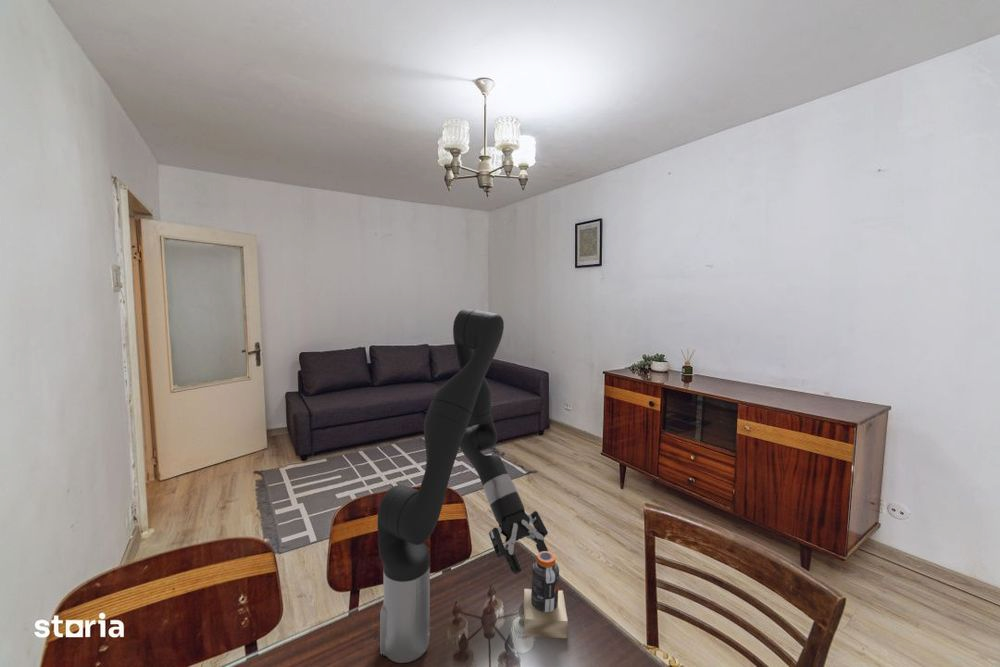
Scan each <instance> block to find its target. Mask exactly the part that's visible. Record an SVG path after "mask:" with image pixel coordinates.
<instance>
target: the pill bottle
mask: <svg viewBox="0 0 1000 667" xmlns="http://www.w3.org/2000/svg"><path fill="white" fill-rule="evenodd" d="M548 551H549V550H548ZM548 551H542V552H540V553H539V552H538V553H537V557H536V560H535V561H534V562H533V565H532V570H531V571H532V572H531V573H532V574H531V575H532V576H531V589H532V592H531V602H532V605H533V607H534V608H535V609H537V610H538V611H541V612H551V611H553V610H555V609H556V608H557V605H558V590H559V583H560V581H559V580H560V568H559V565H558V564H557V562H556V555H555V554H554V553H552V552H551V551H549V552H548Z"/></svg>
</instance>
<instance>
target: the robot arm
mask: <svg viewBox="0 0 1000 667" xmlns="http://www.w3.org/2000/svg"><path fill="white" fill-rule="evenodd" d="M504 324H505V323H504V319H503V317H502V316H501V314H498V313H494V312H490V311H486V310H485V311H484V310H477V309H472V308H471V309H470V308H462V309H461V310H459V311H458V312H457V315H456V316H455V318H454V320H453V325H452V326H453V328H452V337H453V343H454V349H455V353H456V360H457V363H458V368H459V371H458V372H456V373H455V374H454V375H453V376H452V377H451V378H450V379H448V380H447V381H446V382H445V383H443V384H442V385H441V386H440V387H439V388H438V389H437V391H436V392H435V394H434V395H433V398H432V399H431V403H430V405H429V408H428V410H427V412H426V414H425V418H424V422H423V438H424V446H425V456H426V461H425V462H426V465H425V470H424V475H423V476H422V477H423V479H422V481H421V483H420V487H419V489H415V488H413V487H410V486H407V485H403V484H398V485H397V484H396V485H394V486H392V487H391V488H390V489H388V490H387V491H386V492H385V494H384V495H383V497H382V499H381V501H380V503H379V507H378V509H377V510H378V512H377V523H376V524H377V541H378V542H377V543H378V553H379V555H378V556H379V558H380V560H381V562H382V567H383V570H382V571H383V572H382V573H383V575H382V576H383V580H382V581H383V603H382V606H381V608H380V611H379V614H380V615H379V616H380V618H379V620H380V621H379V622H380V624H379V625H380V626H379V628H380V630H379V632H380V633H379V635H380V636H379V640H380V641H379V642H380V647H379V648H380V649H379V652H380V654H381V655H380V656H386V657H387V658H388V659H389V660H390V661H392V662H393V663H394V662H395V663H398V664H405V663H410V662H413V661H416V660H417V659H419V658H420V657H422V656H423V655H424V654H425V653H426V652H427V650H428V647H429V645H430V613H431V612H430V610H431V609H430V607H431V606H430V599H431V598H430V597H431V596H430V595H431V594H430V591H431V590H430V586H431V584H430V582H431V580H430V579H431V578H430V577H431V576H430V575H431V554H430V548H428V546H427V545H426V544H425V543H426V542H427V541H428V539H429V538H430V537H431V535H432V534H433V533H434V531H435V529H436V526H437V524H438V521H439V518H440V515H441V513H442V508H443V505H444V502H445V497H446V493H447V490H448V485H449V481H450V478H451V474H452V471H453V467H454V465H455V461H456V459H457V456H458V453H459V449H460V450H461V453H462V454H463V455H464V456H465V457H466V459H467V460H468V461H469V463H471V465H472V466H473V468H474V470H475V472H476V473H477V475H478V477H479V479H480V482H481V484H482V487H483V490H484V494H485V497H486V499H487V502H488V504H489V506H490V509H491V512H492V513H493V514H492V515H493V516H494V519H495V521H496V523H497V524H498V527H493V528H492V529H491V530H489V531H488V535H489V538H490V540H491V544H492V546H493V549H494V552H495V556H496V557H497V559H498V558H499V559H500V558H505V559H506V562H507V563H508V566H509V569H510V571H511V572H512V573H513V574H514V575H517V574H519V573H521V572H522V568H521V566H520V563H519V561H518V558H517V556H516V554H515V553H514V549H515V545H516V542H517V541H519V540H522V539H525V538H527V539H528V540H529V539H530V540H532V541H533V542H534V543H535V547H536V549H537V551H538V553H540V552H542V551H548V552H550V551H549V549H548V547H547V545H546V543H545V540H544V539H545V537H546V536H548V534H549V531H548V530H547V528H546V526H545V524H544V522H543V520H542V518H541V516H540V515H539V513H538V511H536V510H534V511H533V512H532V513H530V514H527V513H526V511H525V505H524V504H523V501H522V499H521V496H520V494H519V492H518V491H517V488H516V486H515V484H514V482H513V480H512V478H511V476H510V475H509V472H508V470H507V468H506V467H505V464H504V462H503V460H502V458H501V456H500V455H497V454H490V455H489V454H487V455H486V454H483V453H482V452H483V451H486V450H490V449H491V448H494V447H495V445H496V444H497V441H498V434H497V430H496V426H495V424H494V420H493V416H492V395H491V394H492V393H491V388H490V385H489V383H488V381H487V379H486V375H487V373H488V370H489V368H490V366H491V364H492V362H493V360H494V357H495V355H496V353H497V350H498V348H499V346H500V343H501V341H502V337H503V334H504V329H505V328H504V327H505V325H504ZM469 424H471V425H472V426H469ZM530 523H531V524H532V525H533V526H532V525H531V524H530ZM502 535H503V536H504V542H503V539H502ZM382 654H383V655H382Z"/></svg>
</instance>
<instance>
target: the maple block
mask: <svg viewBox="0 0 1000 667" xmlns="http://www.w3.org/2000/svg"><path fill="white" fill-rule="evenodd" d="M531 592H532V588H523V622H524V623H523V624H524V625H523V628H524V632H523V634H524V637H532V638H533V637H534V638H535V637H536V638H552V639H567V638H568V624H569V623H568V622H569V621H568V615H567V609H566V601H565V596H564V590H559V589H558V605H557V608H556V609H555V610H553V611H551V612H541V611H538V610H537V609H535V608H534V607H533V605H532V602H531Z"/></svg>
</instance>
